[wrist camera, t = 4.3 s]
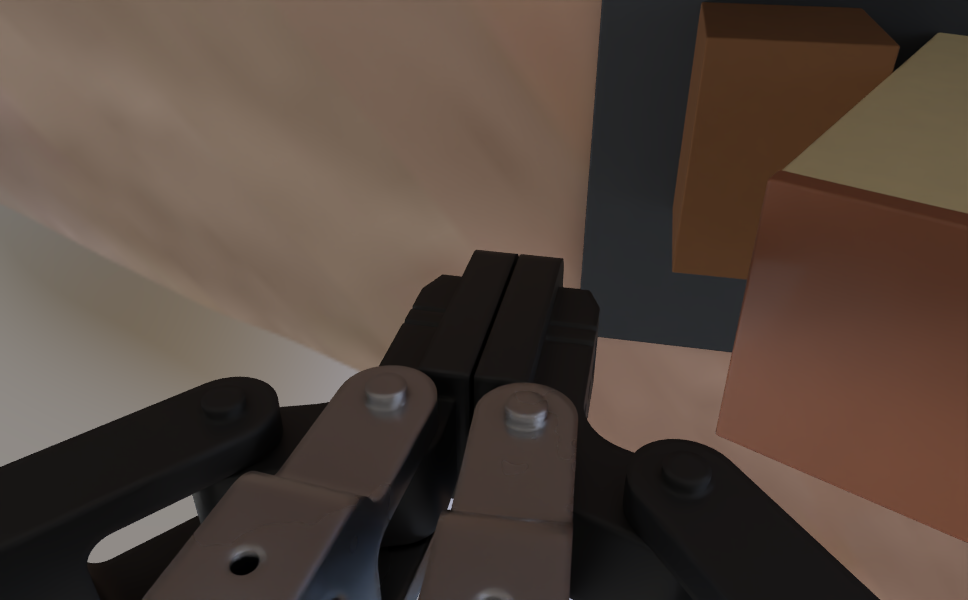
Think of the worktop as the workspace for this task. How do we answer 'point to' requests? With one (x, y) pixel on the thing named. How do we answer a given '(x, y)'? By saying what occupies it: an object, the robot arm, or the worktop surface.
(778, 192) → the carton
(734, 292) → the mat
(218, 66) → the worktop surface
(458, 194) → the worktop surface
